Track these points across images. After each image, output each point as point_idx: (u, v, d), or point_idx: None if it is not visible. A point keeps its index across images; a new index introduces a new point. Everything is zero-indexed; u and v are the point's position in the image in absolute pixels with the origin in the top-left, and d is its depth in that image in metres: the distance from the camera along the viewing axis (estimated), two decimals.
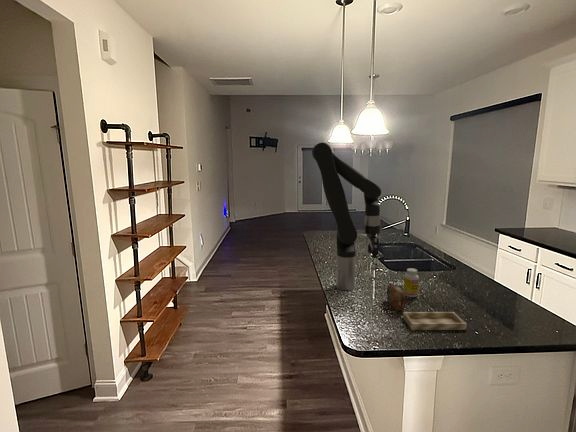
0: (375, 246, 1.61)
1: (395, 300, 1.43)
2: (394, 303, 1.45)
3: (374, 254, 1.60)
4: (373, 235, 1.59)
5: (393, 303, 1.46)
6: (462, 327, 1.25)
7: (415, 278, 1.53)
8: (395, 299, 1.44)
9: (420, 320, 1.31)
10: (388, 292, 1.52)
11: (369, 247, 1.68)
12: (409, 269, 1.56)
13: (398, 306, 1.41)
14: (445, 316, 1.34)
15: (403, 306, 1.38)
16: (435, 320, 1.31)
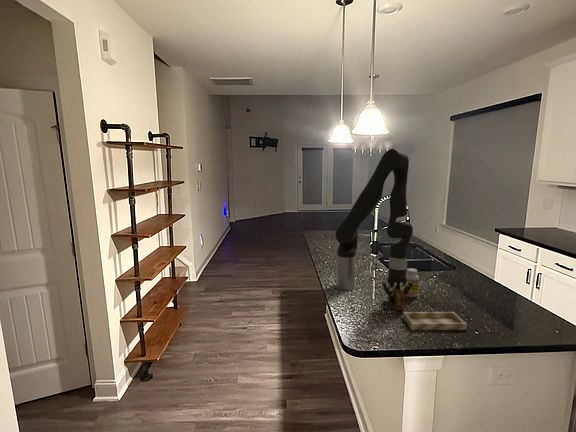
0: None
1: (396, 300, 1.43)
2: (394, 303, 1.45)
3: None
4: None
5: None
6: (462, 327, 1.25)
7: (415, 278, 1.53)
8: (395, 299, 1.44)
9: (420, 320, 1.31)
10: None
11: None
12: (409, 269, 1.56)
13: (398, 306, 1.41)
14: (445, 316, 1.34)
15: (402, 306, 1.38)
16: (435, 320, 1.31)
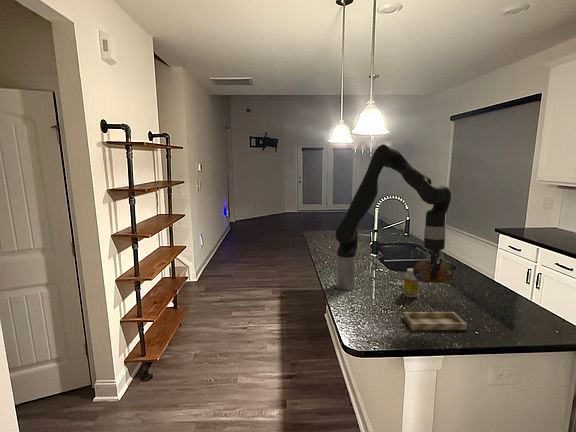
0: None
1: (438, 273, 1.29)
2: None
3: None
4: None
5: None
6: (462, 327, 1.25)
7: (415, 278, 1.53)
8: (437, 273, 1.29)
9: (420, 320, 1.31)
10: (416, 272, 1.30)
11: None
12: (409, 269, 1.56)
13: (446, 277, 1.29)
14: (445, 316, 1.34)
15: None
16: (435, 320, 1.31)
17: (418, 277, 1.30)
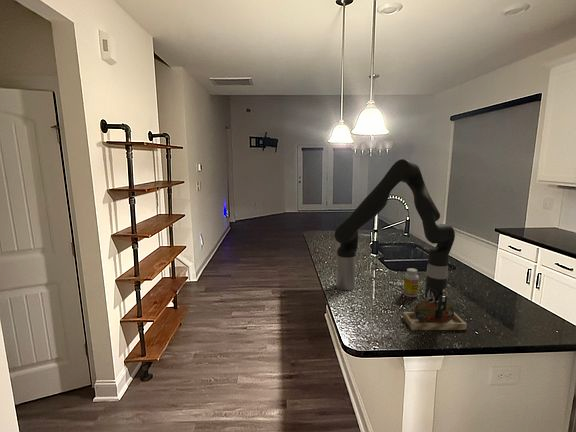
0: (429, 298, 1.32)
1: None
2: None
3: None
4: None
5: (434, 319, 1.29)
6: (462, 327, 1.25)
7: (415, 278, 1.53)
8: None
9: None
10: (418, 313, 1.29)
11: None
12: (409, 269, 1.56)
13: (447, 317, 1.29)
14: None
15: None
16: None
17: (420, 318, 1.29)
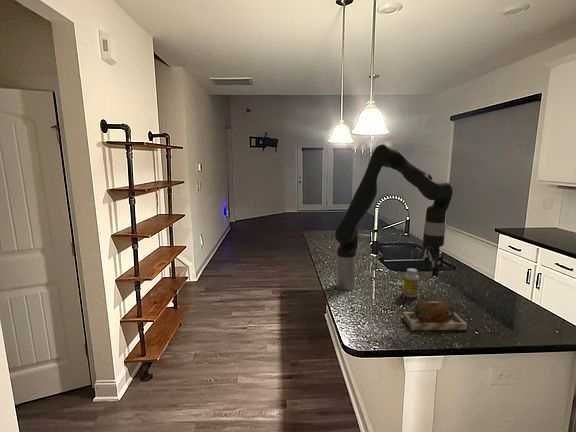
0: (426, 256, 1.32)
1: (439, 314, 1.29)
2: (436, 318, 1.29)
3: None
4: None
5: (434, 319, 1.29)
6: (462, 327, 1.25)
7: (415, 278, 1.53)
8: (438, 313, 1.29)
9: None
10: (418, 313, 1.29)
11: None
12: (409, 269, 1.56)
13: (447, 317, 1.29)
14: None
15: None
16: None
17: (420, 318, 1.29)
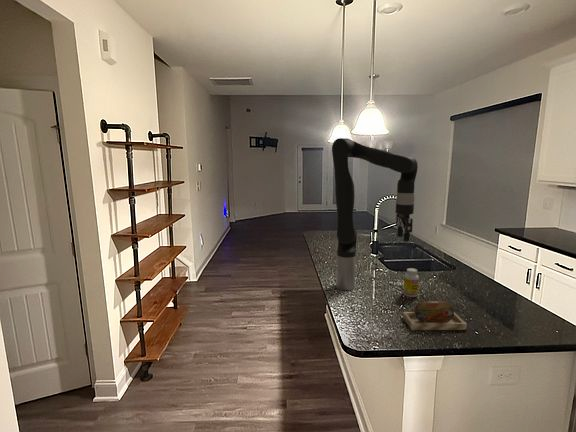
0: (399, 225, 1.47)
1: (439, 314, 1.29)
2: (436, 318, 1.29)
3: None
4: None
5: (434, 319, 1.29)
6: (462, 327, 1.25)
7: (415, 278, 1.53)
8: (438, 313, 1.29)
9: None
10: (418, 313, 1.29)
11: None
12: (409, 269, 1.56)
13: (447, 317, 1.29)
14: None
15: None
16: None
17: (420, 318, 1.29)
